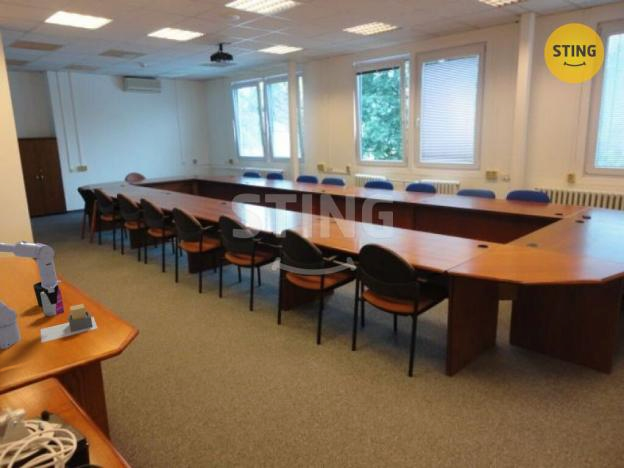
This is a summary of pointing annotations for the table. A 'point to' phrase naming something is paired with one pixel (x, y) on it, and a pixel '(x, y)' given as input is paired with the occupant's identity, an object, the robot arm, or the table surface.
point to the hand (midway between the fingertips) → (54, 303)
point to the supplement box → (54, 308)
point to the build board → (62, 331)
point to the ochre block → (78, 312)
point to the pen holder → (38, 292)
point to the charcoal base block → (80, 322)
